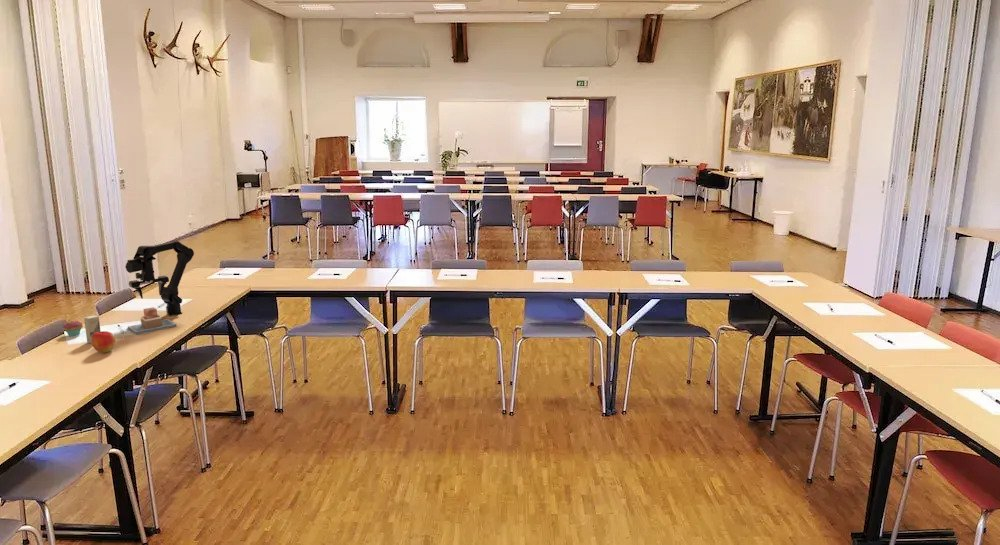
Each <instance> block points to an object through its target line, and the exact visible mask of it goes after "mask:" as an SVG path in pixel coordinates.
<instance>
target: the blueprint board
mask: <svg viewBox="0 0 1000 545" xmlns="http://www.w3.org/2000/svg"><path fill="white" fill-rule="evenodd" d="M157 316H158V317H157V318H151V319H145V317H144V315H142V316H140V323H139V324H134V325H128V326H127V329H128V330H129V331H131V332H132V333H133V334H134V335H138V334H145V333H149V332H155V331H160V330H165V329H169V328H175V327H177V326H178V325H177V323H175V322H173V321H172V320H171V319H169V318H165V319H163V318H162V315H159V314H158V313H157Z"/></svg>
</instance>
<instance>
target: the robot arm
mask: <svg viewBox="0 0 1000 545" xmlns="http://www.w3.org/2000/svg"><path fill="white" fill-rule="evenodd" d="M170 250H173V251H174V252H175V253H177V254H176V261H177V262H176V265H175V268H174V270H173V273H172V275H171V277H170V279H169V277H168V276H166V275H161V276H160V275H159V276H157V278H155V270H154V264H153V261H154V260H156V259H157V258H156V257H154V256H155V255H157V254H158V253H162V252H165V251H170ZM194 255H195V251H194V249H193V248H191V247H188V246H186V245H184V244H182V243H181V242H180V241H178V240H171V241H167V242H163V243H158V244H154V245H139V246H138V247H137V249H136V252H135V255H134V256H133V258H132V259H127V260H126V264H125V266H124V268H125V270H126V271H127V272H128V273H129V274H132V273H135V274H134V275H135V278H136V279H134V280H129V282H128V287H130V288H131V289H135V291H137V293H138V295H139V296H140V298H141V299H144V297H143V295H144V294H143V292H142V291H143V289H142V287H141V285H148V284H152V283H157V285H158V294H159V296H160V298H161V300H163V303H164V304H166V306H165V310H166V314H167V315H168V316H175V315H181V314H183V312H182V309H181V304H182V303H183V298H182V297H180V296H179V286H180V282H181V280H182V277H183V275H184V272H185V270H186V266H187V264H188V263H190V261H192V259H193V257H194ZM140 272H141V273H140ZM139 280H140V281H139ZM167 284H168V285H167ZM165 285H167V286H165Z"/></svg>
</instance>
